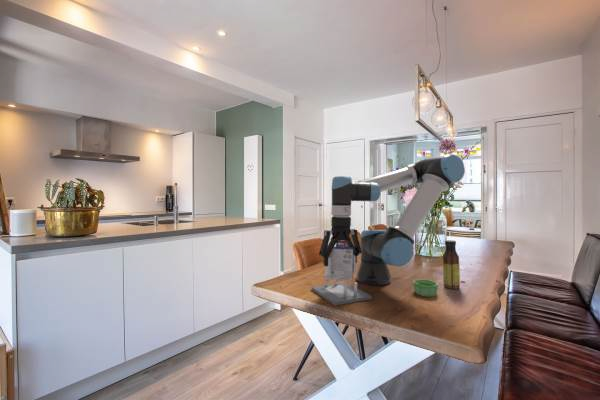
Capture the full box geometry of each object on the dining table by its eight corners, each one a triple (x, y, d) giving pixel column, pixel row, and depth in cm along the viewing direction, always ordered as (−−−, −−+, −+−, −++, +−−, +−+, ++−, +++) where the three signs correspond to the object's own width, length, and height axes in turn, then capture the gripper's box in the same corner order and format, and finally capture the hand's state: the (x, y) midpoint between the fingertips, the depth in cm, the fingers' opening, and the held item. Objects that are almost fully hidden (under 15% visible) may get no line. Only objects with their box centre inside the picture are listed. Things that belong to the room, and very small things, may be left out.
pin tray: (345, 285, 123) (345, 270, 123) (371, 299, 106) (371, 282, 106) (311, 289, 116) (311, 274, 116) (334, 305, 100) (334, 287, 100)
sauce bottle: (459, 286, 122) (459, 240, 122) (460, 290, 117) (461, 242, 116) (442, 284, 125) (442, 239, 125) (442, 288, 119) (443, 241, 119)
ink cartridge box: (353, 277, 113) (353, 241, 113) (353, 281, 107) (353, 243, 107) (328, 275, 115) (328, 240, 115) (327, 279, 109) (327, 242, 109)
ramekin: (425, 288, 119) (425, 278, 119) (443, 295, 111) (443, 284, 111) (408, 291, 116) (408, 280, 116) (425, 298, 107) (425, 287, 107)
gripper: (319, 217, 103) (318, 278, 103) (371, 216, 112) (370, 272, 112) (310, 216, 109) (309, 273, 110) (359, 215, 119) (359, 267, 119)
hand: (340, 272), depth 111 cm, fingers closed on ink cartridge box, 11 cm apart
